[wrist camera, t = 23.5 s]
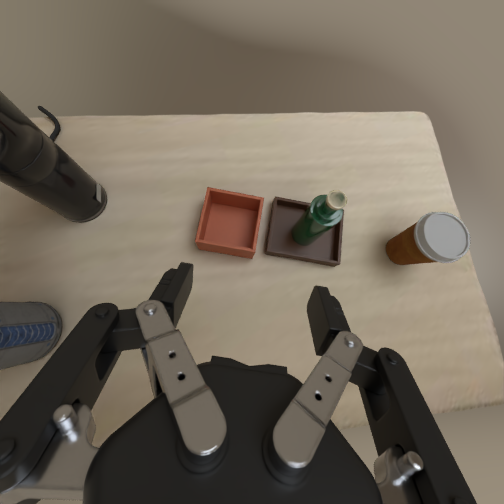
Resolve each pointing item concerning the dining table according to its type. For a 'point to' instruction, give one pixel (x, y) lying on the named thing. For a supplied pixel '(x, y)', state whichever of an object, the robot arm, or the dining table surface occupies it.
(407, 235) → the disposable coffee cup
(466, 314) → the dining table surface
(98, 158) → the dining table surface
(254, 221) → the bin
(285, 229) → the tray
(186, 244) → the dining table surface
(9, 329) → the beverage bottle
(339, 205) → the bottle
